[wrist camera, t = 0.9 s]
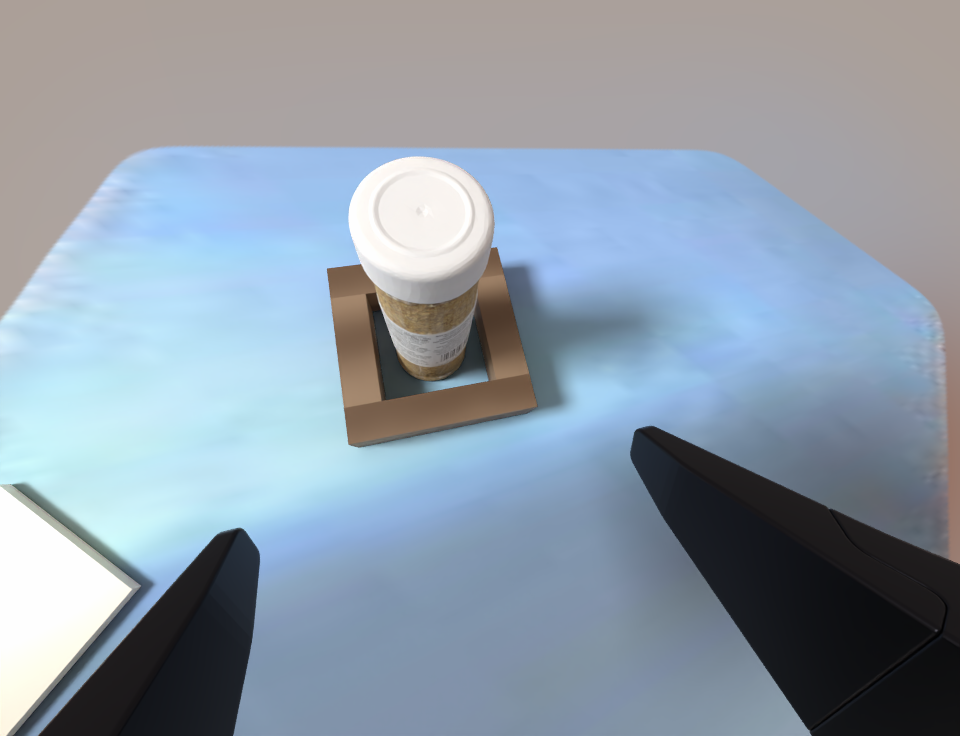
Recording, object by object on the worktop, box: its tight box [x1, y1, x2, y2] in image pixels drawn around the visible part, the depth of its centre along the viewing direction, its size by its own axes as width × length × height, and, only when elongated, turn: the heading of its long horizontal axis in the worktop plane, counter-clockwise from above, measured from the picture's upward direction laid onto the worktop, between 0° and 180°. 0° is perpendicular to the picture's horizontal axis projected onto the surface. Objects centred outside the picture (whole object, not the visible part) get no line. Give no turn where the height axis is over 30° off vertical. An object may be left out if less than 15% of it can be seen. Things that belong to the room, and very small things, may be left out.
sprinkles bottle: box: [349, 157, 495, 381], centre depth 18 cm, size 5×5×14 cm
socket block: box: [327, 247, 538, 448], centre depth 23 cm, size 11×11×2 cm
